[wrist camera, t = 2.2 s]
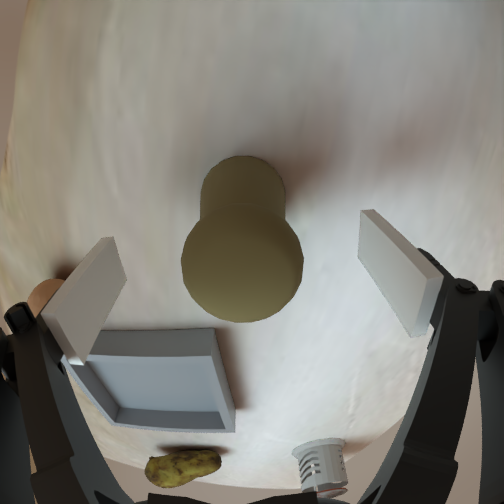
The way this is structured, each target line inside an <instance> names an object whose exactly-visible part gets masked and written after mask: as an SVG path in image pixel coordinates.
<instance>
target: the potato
mask: <svg viewBox="0 0 504 504" xmlns="http://www.w3.org/2000/svg"><path fill="white" fill-rule="evenodd" d="M149 459H150V460H149V462H148V463H147V465H146V468H145V475H146V477H147V478H148V480H149V481H150V482H152V483H153V484H154V485H156V486H159V487H162V488H173V487H177V486H181V485H184V484H186V483H188V482H190V481H192V480H193V479H195V478H197V477H203V476H206V475H208V474H211V473H213V472H215V471H217V470H218V469H219V468H220V467H221V462H222V461H221V457H220V455H219V454H217V453H216V452H213V451H210V450H201V451H194V450H191V451H187V450H185V451H180V452H175V453H172V454H169V455H165V456H160V457H152V456H151V457H150V458H149Z"/></svg>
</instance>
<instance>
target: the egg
mask: <svg viewBox="0 0 504 504" xmlns="http://www.w3.org/2000/svg"><path fill="white" fill-rule="evenodd" d="M64 282H65V281H64V280H61V279H49V280H45V281H43V282H42V283H40V284H39V285H38V286H37V287H35V288H34V290H33V291H32V293H31V294H30V296H29V298H28V300H27V303H28V305H29V307H30V309H31V311H32V313H33V315H34V317H35V318H36V316H37V315H38V314H39V312H40V311H41V310H42V308H43V307H44V305H45V304H47V301H48V300H49V299H50V298H51V296H52V295H53V294H54V292H55V291H56V290H57V289H58V288H60V287H61V286H62V284H63V283H64Z"/></svg>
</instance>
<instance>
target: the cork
mask: <svg viewBox="0 0 504 504" xmlns="http://www.w3.org/2000/svg"><path fill="white" fill-rule="evenodd" d="M303 263H304V257H303V253H302V249H301V246H300V242H299V239H298V237H297V235H296V234H295V232H294V231H293V229H292V228H291V227H290V225H289V224H288V222H287V221H285V189H284V186H283V183H282V179H281V178H280V176H279V175H278V173H277V172H276V171H275V169H274V168H273V167H271V166H270V165H269V164H267V163H266V162H265V161H263V160H260V159H257V158H254V157H251V156H235V157H232V158H229V159H226V160H223V161H221V162H220V163H219V164H217V165H216V166H215V167H213V168H212V169H211V170H210V172H209V173H208V175H207V176H206V178H205V179H204V182H203V185H202V189H201V201H200V221H198V222H197V223H196V225H195V226H194V228H193V229H192V231H191V232H190V234H189V235H188V237H187V239H186V241H185V244H184V248H183V253H182V257H181V266H182V273H183V280H184V284H185V286H186V288H187V290H188V292H189V293H190V295H191V297H192V298H193V299H194V300H195V301H196V302H197V303H198V304H199V305H200V306H201V307H202V308H203V309H204V310H205V311H206V312H208V313H210V314H211V315H213V316H215V317H217V318H219V319H222V320H226V321H231V322H235V323H242V322H255V321H259V320H262V319H266V318H268V317H270V316H272V315H274V314H275V313H277V312H279V311H280V310H281V309H282V308H283V307H284V306H285V305H286V304H287V303H288V302H289V301H290V300H291V299H292V298H293V297H294V295H295V293H296V291H297V289H298V287H299V285H300V283H301V281H302V272H303Z"/></svg>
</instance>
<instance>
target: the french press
mask: <svg viewBox="0 0 504 504" xmlns="http://www.w3.org/2000/svg"><path fill="white" fill-rule="evenodd" d="M345 444H346V443H345V440H342V439H339V438H327V439H319V440H315V441H311V442H307V443H305V444H302V445H300V446H298V447H296V448H295V449H294V450H293V451H292V455H293V456H294V457H295V458H297V459H298V463H299V471H301V472H300V477H302V478H301V484H302V483H303V484H302V486H301V488H302V492H303V493H306V492H312V491H316V485H317V486H318V492H317V497H318V498H333V497H336V496H338V495H342V494H344V493H346V492H347V489H346V488H341V487H343V486H345V485H347V483H348V479H347V474H346V471H345V469H344V468H345V466H344V460H343V455H342V448H343V447H344V445H345ZM341 456H342V458H341ZM340 461H341V462H340ZM342 463H343V464H342ZM311 464H314V465H315V467H312V468H311ZM313 470H315V472H316V473H315V474H313V475H312V471H313ZM343 470H344V471H343ZM336 481H342V482H341V483H331V482H336ZM314 486H315V488H314Z"/></svg>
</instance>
